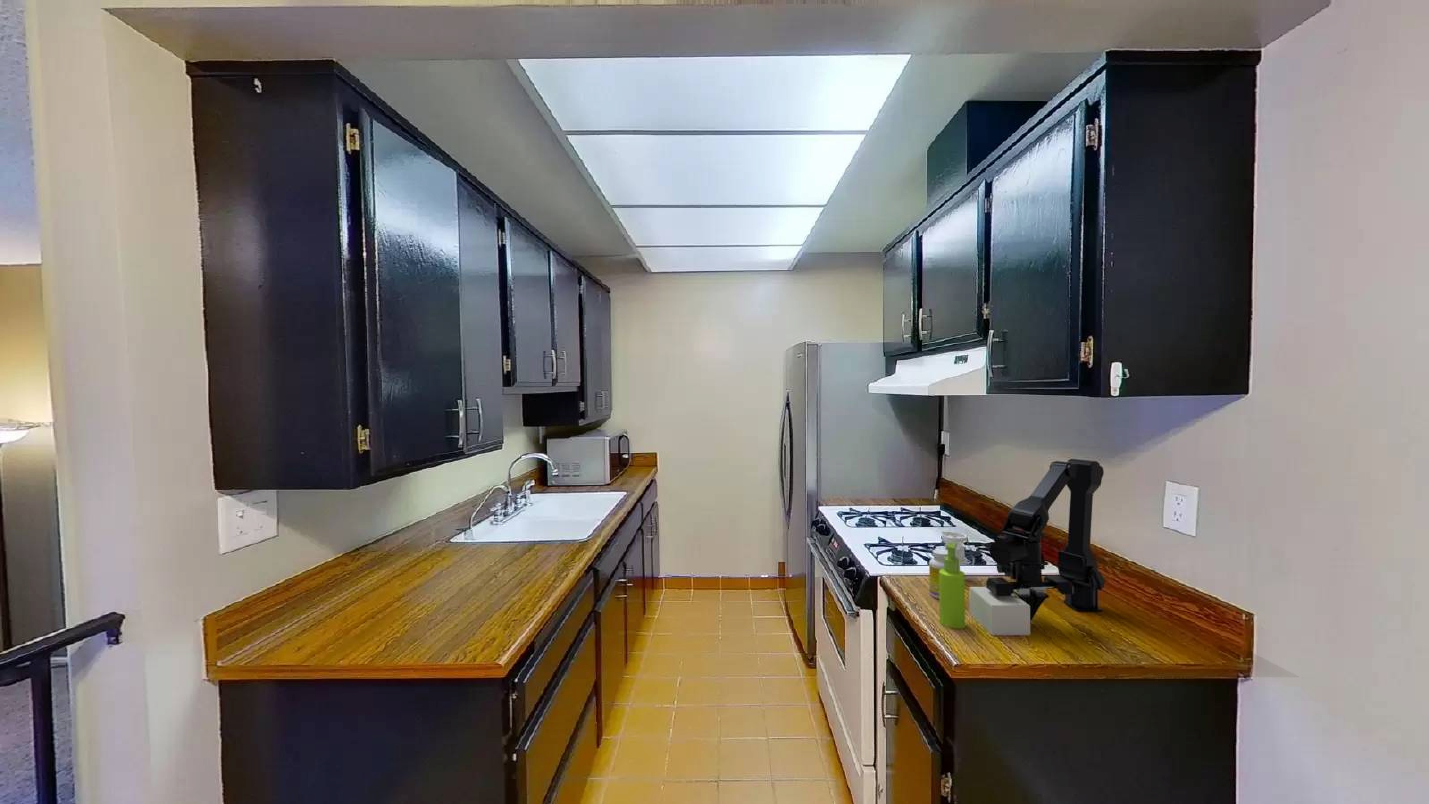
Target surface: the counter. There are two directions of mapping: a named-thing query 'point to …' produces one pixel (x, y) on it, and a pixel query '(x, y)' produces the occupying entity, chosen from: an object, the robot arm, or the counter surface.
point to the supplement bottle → (936, 571)
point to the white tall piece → (959, 547)
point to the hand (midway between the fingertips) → (1029, 619)
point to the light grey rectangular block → (999, 612)
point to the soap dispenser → (952, 591)
